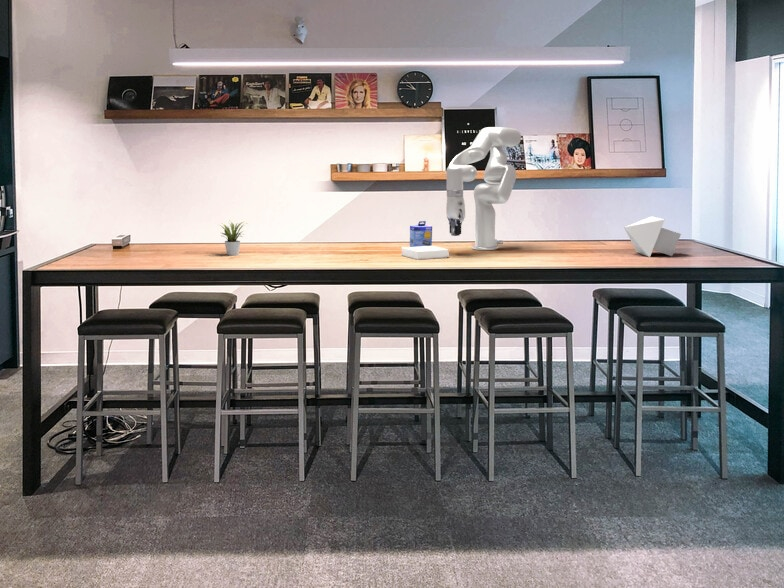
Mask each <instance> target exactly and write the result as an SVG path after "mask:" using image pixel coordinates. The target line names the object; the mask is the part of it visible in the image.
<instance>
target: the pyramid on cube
mask: <svg viewBox="0 0 784 588" xmlns="http://www.w3.org/2000/svg"><path fill="white" fill-rule="evenodd" d="M664 223H665V219H664V218H660V217H657V216H656V217H655V216H653V215H651V216H649V217H646V218H644V219H641V220H639V221H636V222H634V223H632V224H629V225H626V226H624V227H623V228H624V230H625V232H626V234H627V236H628V238H629V239H630V241H631V244H632V246H633V247H634V250H635V251H636V253H637V254H640V255H643V256H645V257H648V258H651V255H652V253H653V251H656V252H659V253H661V254H665V255H667V256H669V257H673V256H674V252H675V250H676V248H677V245H678V242H679V240H680V238H681V235H682V234H681V233H679V232H676V231H673V230H671V229H666V228H663V225H664Z"/></svg>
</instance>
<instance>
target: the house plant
mask: <svg viewBox="0 0 784 588" xmlns="http://www.w3.org/2000/svg"><path fill="white" fill-rule="evenodd" d="M245 224H248V223H247V222H245V223H244V221H242V222H240V223H235V224H234V223H233V222H232V221H230V220H229V225H230V227H229V226H227V225H225V224H224V223H222V225H223V226H222V225H220V224H219V226H221V228H222V229H224V233H223V232H221V234H222V237H224V238H225V239H226V240H224V246H225V251H226V255H227V256H238V255H239V253H240V245H241V240H237V239H238V238H239V237H240V236H241V237H242V238H244V236H242V235H245V234H243V232H244V230H243V231H240V230H241V229H242V228H243V227H244V226H245Z"/></svg>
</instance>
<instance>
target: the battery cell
mask: <svg viewBox="0 0 784 588" xmlns="http://www.w3.org/2000/svg"><path fill="white" fill-rule="evenodd" d="M457 222H458V220H457ZM455 226H456V225H455V219H453V220H451V233H450V236H452V237H459V236H460V235H461V234H457V235H455Z"/></svg>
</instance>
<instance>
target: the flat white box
mask: <svg viewBox="0 0 784 588" xmlns="http://www.w3.org/2000/svg"><path fill="white" fill-rule="evenodd" d="M449 252H450V249H447V248H444V247H440V246H435V245H432V246H421V247H410V246H409V247H408V246H407V247H406V246H405V247H401V256H403V257H406V258H410V259H414V260H416V261H417V260H420V259H421V260H432V259H433V260H434V258H436V259H448V258H447V257H450V255H449V254H450V253H449Z"/></svg>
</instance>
